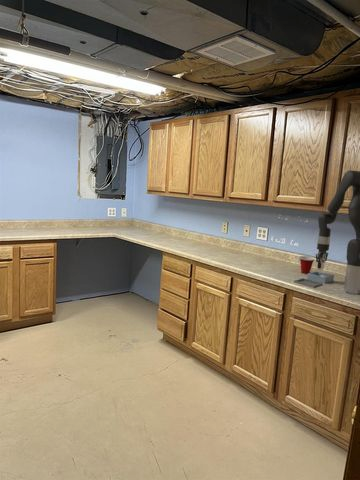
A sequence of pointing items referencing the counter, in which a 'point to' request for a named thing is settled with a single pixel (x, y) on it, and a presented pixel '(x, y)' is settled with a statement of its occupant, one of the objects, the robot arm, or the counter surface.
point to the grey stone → (321, 266)
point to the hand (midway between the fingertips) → (320, 267)
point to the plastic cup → (306, 264)
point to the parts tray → (308, 282)
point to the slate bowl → (320, 277)
